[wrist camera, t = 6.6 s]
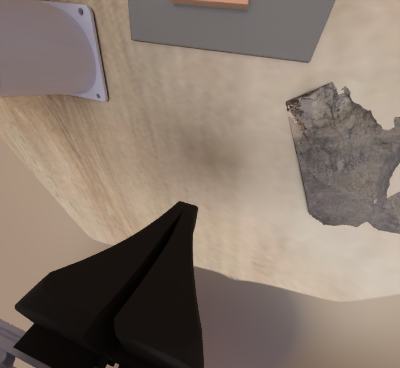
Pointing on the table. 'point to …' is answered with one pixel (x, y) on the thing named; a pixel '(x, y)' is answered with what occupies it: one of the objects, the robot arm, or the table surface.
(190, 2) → the tile
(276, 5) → the mat
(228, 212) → the table surface
